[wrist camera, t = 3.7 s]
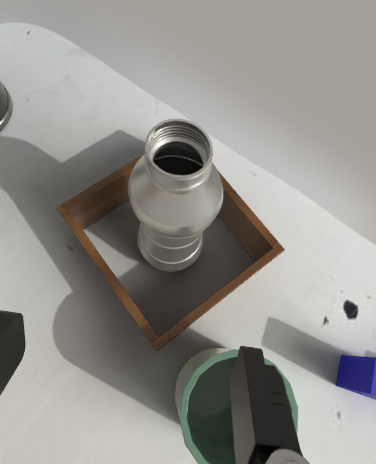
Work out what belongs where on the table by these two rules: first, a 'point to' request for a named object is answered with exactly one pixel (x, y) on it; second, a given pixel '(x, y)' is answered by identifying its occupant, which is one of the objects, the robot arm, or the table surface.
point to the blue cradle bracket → (358, 375)
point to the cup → (212, 405)
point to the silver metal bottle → (174, 194)
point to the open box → (231, 213)
